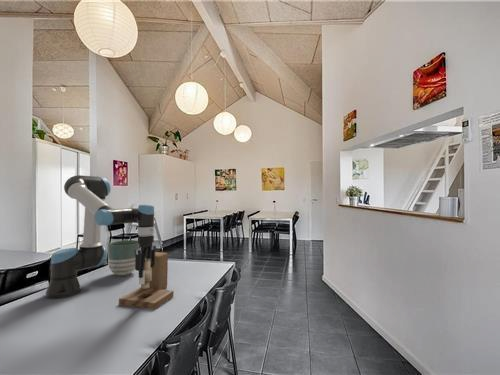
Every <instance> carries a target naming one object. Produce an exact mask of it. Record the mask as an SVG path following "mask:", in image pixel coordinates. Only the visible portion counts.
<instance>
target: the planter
mask: <svg viewBox="0 0 500 375" xmlns="http://www.w3.org/2000/svg"><path fill="white" fill-rule="evenodd" d="M138 249H139V244H138V240H133V239H131V240H130V239H128V240H127V239H126V240H116V241H111V242H108V243H107V262H108V263H107V265H108V268H109V270H110V271H111V273H112V274H115V276H119V277H120V276H121V277H123V276H127V275H130V274H131V273H133V272H134V271H136V270H135V250H138Z"/></svg>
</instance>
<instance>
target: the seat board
mask: <svg viewBox="0 0 500 375" xmlns="http://www.w3.org/2000/svg"><path fill="white" fill-rule="evenodd" d="M172 298H174V290H168V289H163V290H161V289H152V288H147V289H141V287H139V288H137V289H135V290H133V291H131V292H129V293H127V294H125V295H123V296H121V297H119V298H118V305H120V306H125V305H126V306H127V307H132V306H134V307H133V308H139V307H141V309H146V310H147V309H148V310H156V309H158V308H159V307H160V306H162V305H163V304H165V303H166V302H168V301H169V300H171V299H172ZM167 300H168V301H167ZM164 302H165V303H164ZM161 304H162V305H161ZM126 306H125V307H126Z"/></svg>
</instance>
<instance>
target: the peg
mask: <svg viewBox="0 0 500 375" xmlns="http://www.w3.org/2000/svg"><path fill="white" fill-rule="evenodd" d="M144 270H145V284H140V286H141V287H140V288H141V289H147V288H149V282H150V258H145V264H144Z"/></svg>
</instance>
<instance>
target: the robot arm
mask: <svg viewBox="0 0 500 375" xmlns="http://www.w3.org/2000/svg"><path fill="white" fill-rule="evenodd" d="M111 189H112V188H111V183H110V181H109V180H108V179H107V178H105V177H101V176H97V175H96V176H92V175H83V174H82V175H79V174H78V175H73V176H71V177H69V178H68V179H66V181H65V183H64V186H63V190H64V192H65V194H66V195H67V196H68V197H69V198H70V199H73V200H76V201H77V202H78V203H80V204H81V205H82V206H83V207H84V220H83V223H84V224H83V235H82V243H81V244H79V247H78V248H77V247H70V248H69V247H68V248H63V249H60V250H57V251H55V252H53V253H52V255H51V258H50V281H49V283H48V286H47V288H46V291H45V298H47V299H61V298H62V299H63V298H68V297H70V296H74V295H76V294H78V293H80V292H81V285H80V282H79V279H78V271H82V270H86V269H90V268H96V267H99V266H101V265H103V264H104V262H105V261H106V258H107V256H108V252H107V250H106V247H105V246H103V245H104V244H103V243H102V242H101V232H102V231H101V230H102V229H101V228H102V226H104V227H105V226H110V225H111V226H113V225H123V224H133V223H134V224H137V235H138V236H137V241H138V244H139V249H138V250H135V270H134V271H138V285H141V284H145V270H144V264H145V258H150V281H151V279H152V267H154V266H153V265H155V252H156V249H157V246H156V245H153V243H154V242H155V235H154V234H155V228H154V227H155V206H154V205H153V204H139V205H138V208H133V207H128V208H127V207H126V208H113V207H111V206H110V205H109V204H107V203H106V202H105V200H106V197H108V196H109V195H110V193H111ZM152 262H153V263H152Z"/></svg>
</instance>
